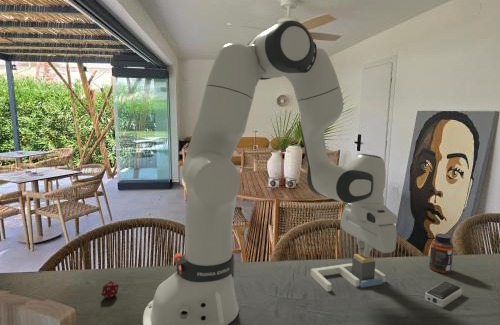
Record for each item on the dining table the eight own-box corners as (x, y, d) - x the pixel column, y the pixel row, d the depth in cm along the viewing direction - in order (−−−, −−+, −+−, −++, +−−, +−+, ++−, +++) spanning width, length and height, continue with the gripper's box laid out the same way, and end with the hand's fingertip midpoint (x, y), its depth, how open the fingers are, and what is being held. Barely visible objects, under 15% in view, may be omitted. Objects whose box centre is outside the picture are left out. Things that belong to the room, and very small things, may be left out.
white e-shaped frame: (329, 293, 81) (329, 286, 81) (310, 275, 91) (310, 268, 91) (387, 283, 87) (387, 276, 87) (364, 267, 97) (364, 261, 96)
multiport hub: (461, 296, 81) (462, 288, 81) (442, 309, 75) (442, 300, 75) (444, 288, 85) (444, 280, 85) (424, 300, 79) (424, 292, 79)
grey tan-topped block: (361, 283, 87) (362, 260, 86) (351, 276, 91) (352, 254, 90) (374, 281, 88) (375, 258, 87) (364, 274, 92) (365, 252, 91)
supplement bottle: (454, 275, 92) (458, 239, 91) (433, 273, 93) (436, 238, 92) (446, 266, 98) (449, 232, 97) (426, 264, 99) (429, 231, 98)
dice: (100, 302, 76) (99, 287, 76) (105, 293, 80) (104, 279, 80) (116, 301, 77) (115, 286, 76) (120, 291, 81) (119, 277, 81)
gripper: (337, 201, 96) (335, 242, 98) (382, 221, 76) (378, 272, 78) (353, 200, 98) (351, 241, 99) (402, 219, 78) (398, 269, 80)
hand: (364, 255), depth 89 cm, fingers closed
